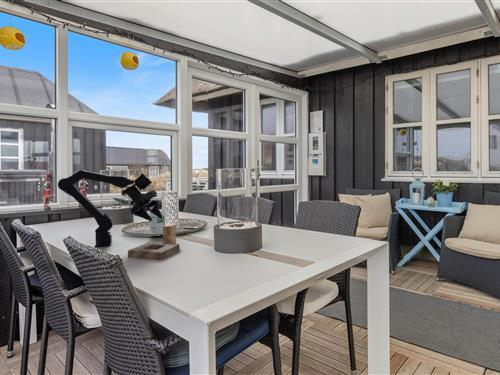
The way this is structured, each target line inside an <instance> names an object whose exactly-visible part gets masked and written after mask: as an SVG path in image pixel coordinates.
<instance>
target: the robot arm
mask: <svg viewBox="0 0 500 375" xmlns="http://www.w3.org/2000/svg"><path fill="white" fill-rule="evenodd" d="M83 179H85V180H89V181H96V182H100V183H106V184H110V185H112V186H115V187H116V188H119V189H120V188H121V195H120V196H123V197H126V196H128V198H129V199H130V200H131V204H133V206H132V207H131V208H130V210H129V213H130V214H131V215H132V216H135V217H139V218H142V219H144V220H146V221H149V222H150V221H152V218H151V217H150V212H151V213H153V214H154V215H156V216H158V217H159V218H162V215H161V212H160V210H159V209H160V208H159V207H160V203H161V201H160V200H159V199H157V197H158V196H157V195H158V192H157V191H156V190H155V189H151V190H150V191H147V192H145V193H144V192H143V193H142V192H141V190H143V191H145V190H146V189H147V188H148V187H149V186H151V185H152V184H153V182H152V180H151V179H150V178H149V177H147V175H145V174H144V173H141V174H140V175H139V176H137V178H135V179H130V178H128V177H127V176H126V175H125V176H124V175H109V174H105V173H104V174H103V173H98V172H94V171H93V172H92V171H87V170H85V169H81V170H78V171H77V172H75V173H73V174H72V175H70V176H68V177H64V178H60V179H59V180H58V182H57V187H58V189H59V190H61V191H62V192H63V193H65V194H67V195H69V196H71V197H72V198H73V199H74V200H76V202H77V203H79V204H80V206H81V207H83V208H84V209H85V211H87V212H88V213H89V214H90V215H91V217H93V219H94V220H95V222H96V224H97V225H98V227H97V228H96V229H95V230H94V233H95V245H94V247H95V248H97V247H110V245H111V246H112V244H113V237H112V234H111V231H110V230H111V229H112V228H113V227H114V225H115V221H114V217H113V216H112V215H110V213H109V212H108V211H106V212H105V213H104V212H102V211H101V210H100V209H99V208H98V206H96V205H95V204H94V202H92V201H91V200H90V199H89V198H88V197H87V196H86V195H85V194H84V193H83V192H82V191H81V190H80V188H79V187H78V185H77V184H78V183H79V182H80V181H82V180H83ZM153 198H156V199H153ZM147 210H148V211H149V213H148V211H147Z"/></svg>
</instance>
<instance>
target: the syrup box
mask: <svg viewBox="0 0 500 375" xmlns="http://www.w3.org/2000/svg"><path fill="white" fill-rule="evenodd" d="M159 210H160V212H161V215H162V218H159V217H158V216H156V215H154V214H153V213H151V212H150V211H149V215H150V217H151V218H152V221H149V224H150V227H149V228H150V230H149V231H150V234H151V233H153V234H161V233H163V226H164V225H166V222H165V209H161V208H159Z"/></svg>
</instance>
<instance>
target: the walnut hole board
mask: <svg viewBox="0 0 500 375" xmlns="http://www.w3.org/2000/svg"><path fill="white" fill-rule="evenodd" d="M180 250H181V248H180V243H176V244H172V243H163V242H158V241H157V242H156V241H153V242H151V241H148V242H145V243H143V244H140V245H138V246H135V247H133V248H130V249H128V250H127V258H133V259H134V258H135V259H142V260H143V259H144V260H157V261H158V260H159V261H162V260H163V259H164V260H165V259H166V258H168V257H170V256H171V255H174V254H176V253H177V252H179V251H180Z"/></svg>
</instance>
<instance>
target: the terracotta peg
mask: <svg viewBox="0 0 500 375" xmlns="http://www.w3.org/2000/svg"><path fill="white" fill-rule="evenodd" d="M162 243H172V244H177V225H176V224H170V223H169V224H167V223H166V224H165V225H164V226H163V236H162Z"/></svg>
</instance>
